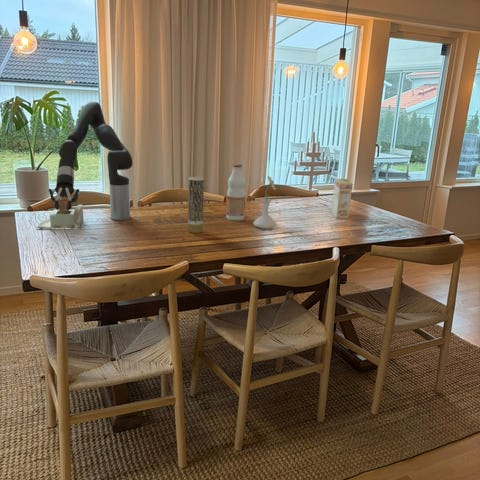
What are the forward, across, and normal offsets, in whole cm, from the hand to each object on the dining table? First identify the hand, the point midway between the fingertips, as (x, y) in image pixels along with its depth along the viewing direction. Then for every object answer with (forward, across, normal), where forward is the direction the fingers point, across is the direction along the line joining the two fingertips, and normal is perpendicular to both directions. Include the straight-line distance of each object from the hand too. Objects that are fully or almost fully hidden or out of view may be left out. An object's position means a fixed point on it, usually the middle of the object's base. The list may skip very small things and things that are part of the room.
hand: (63, 208), depth 208 cm
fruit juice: (-3, -82, -14) cm, 84 cm away
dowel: (+2, 0, -5) cm, 6 cm away
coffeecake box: (-6, -142, -18) cm, 144 cm away
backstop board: (+4, +2, -7) cm, 9 cm away
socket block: (+4, 0, -6) cm, 7 cm away
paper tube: (+14, -59, +2) cm, 61 cm away
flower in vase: (+9, -94, -3) cm, 95 cm away
